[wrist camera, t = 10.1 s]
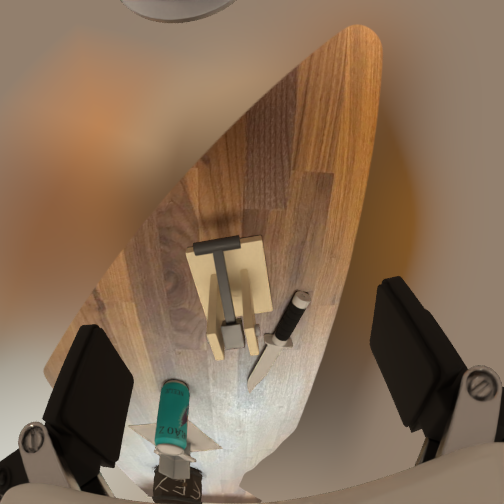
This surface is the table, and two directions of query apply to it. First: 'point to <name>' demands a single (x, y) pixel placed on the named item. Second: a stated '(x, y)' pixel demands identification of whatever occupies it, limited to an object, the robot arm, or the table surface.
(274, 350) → the knife
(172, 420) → the beverage can
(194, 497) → the barrel
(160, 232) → the table surface
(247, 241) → the bracket
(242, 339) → the lever
